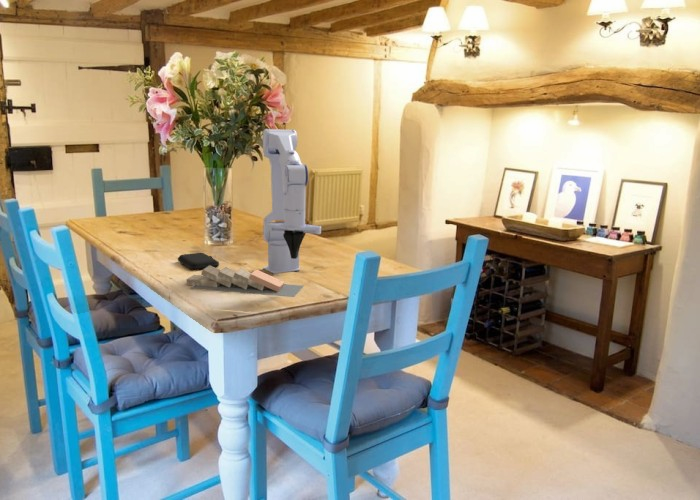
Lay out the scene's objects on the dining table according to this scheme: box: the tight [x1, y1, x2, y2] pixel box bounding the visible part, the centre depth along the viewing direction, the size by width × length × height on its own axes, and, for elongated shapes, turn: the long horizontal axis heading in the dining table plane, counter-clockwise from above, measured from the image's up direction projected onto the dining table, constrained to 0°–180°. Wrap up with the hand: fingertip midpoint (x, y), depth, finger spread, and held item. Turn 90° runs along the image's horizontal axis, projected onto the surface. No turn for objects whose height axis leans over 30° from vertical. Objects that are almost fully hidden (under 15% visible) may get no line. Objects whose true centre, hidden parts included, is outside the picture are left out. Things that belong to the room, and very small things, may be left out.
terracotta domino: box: [249, 269, 286, 292], centre depth 164 cm, size 2×5×9 cm
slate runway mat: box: [190, 283, 304, 298], centre depth 166 cm, size 30×11×1 cm, turn 80°
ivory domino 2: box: [200, 265, 234, 288], centre depth 167 cm, size 2×5×9 cm
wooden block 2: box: [233, 268, 266, 291], centre depth 165 cm, size 2×5×9 cm
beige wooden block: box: [186, 274, 221, 287], centre depth 168 cm, size 2×5×9 cm
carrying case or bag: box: [177, 252, 220, 271], centre depth 189 cm, size 11×3×15 cm
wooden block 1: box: [218, 266, 250, 289], centre depth 166 cm, size 2×5×9 cm
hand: (294, 257), depth 162 cm, fingers closed
